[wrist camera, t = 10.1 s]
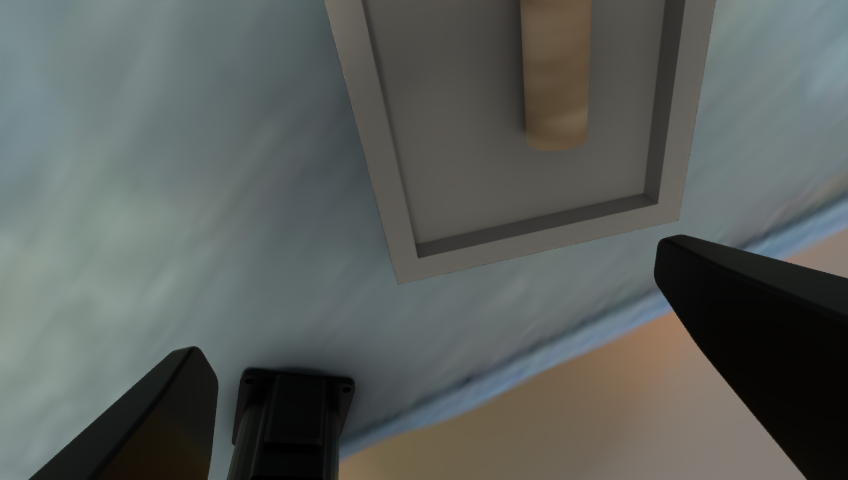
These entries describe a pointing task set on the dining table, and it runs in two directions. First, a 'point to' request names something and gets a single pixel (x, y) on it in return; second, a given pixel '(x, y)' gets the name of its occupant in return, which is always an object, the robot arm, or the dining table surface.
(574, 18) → the wooden dowel
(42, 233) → the dining table surface
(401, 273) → the charcoal frame
